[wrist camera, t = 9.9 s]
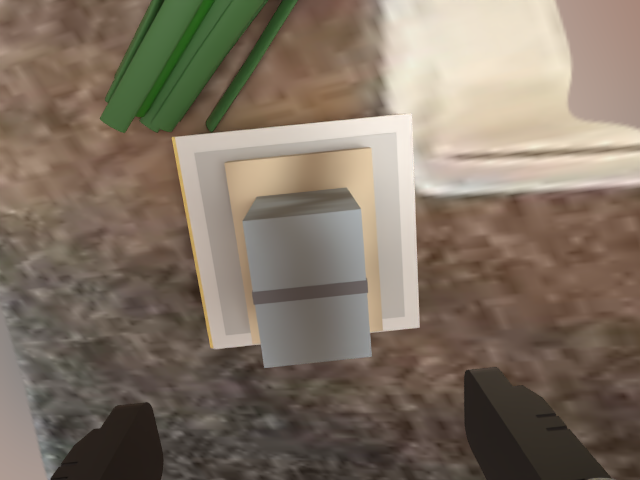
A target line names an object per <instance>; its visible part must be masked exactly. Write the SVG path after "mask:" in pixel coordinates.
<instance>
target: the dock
mask: <svg viewBox="0 0 640 480" xmlns="http://www.w3.org/2000/svg"><path fill="white" fill-rule="evenodd" d="M172 142H173V148H174V153H175V159H176V164H177V169H178V175H179V180H180V186H181V191H182V196H183V202H184V207H185V213H186V218H187V223H188V229H189V234H190V240H191V245H192V250H193V256H194V261H195V267H196V272H197V277H198V283H199V288H200V294H201V299H202V304H203V310H204V315H205V320H206V326H207V331H208V337H209V342H210V347H211V348H214V349H221V348H230V347H240V346H249V345H253V344H252V337H251V331H250V324H249V318H248V312H247V305H246V299H245V292H244V286H243V280H242V273H241V267H240V260H239V254H238V248H237V241H236V235H235V228H234V222H233V216H232V209H231V203H230V196H229V190H228V183H227V177H226V171H225V164H224V163H225V162H227V161H235V160H244V159H254V158H264V157H274V156H284V155H294V154H304V153H313V152H323V151H333V150H343V149H353V148H363V147H370V148H372V163H373V179H374V195H375V211H376V227H377V243H378V259H379V275H380V291H381V307H382V323H383V331H391V330H401V329H410V328H420V326H419V298H418V270H417V242H416V215H415V187H414V159H413V132H412V113H409V114H395V115H385V116H374V117H364V118H354V119H344V120H334V121H324V122H314V123H304V124H294V125H284V126H274V127H264V128H254V129H244V130H234V131H224V132H214V133H204V134H194V135H186V136H178V137H172ZM376 332H382V331H376ZM370 333H373V332H370ZM254 345H259V344H254Z"/></svg>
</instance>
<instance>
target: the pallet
mask: <svg viewBox="0 0 640 480" xmlns="http://www.w3.org/2000/svg"><path fill="white" fill-rule="evenodd" d="M224 164H225V171H226V177H227V183H228V190H229V196H230V203H231V209H232V216H233V222H234V228H235V235H236V241H237V248H238V254H239V260H240V267H241V273H242V280H243V286H244V292H245V299H246V305H247V312H248V318H249V324H250V331H251V337H252V344H253V345H254V344H261V349H262V356H263V362H264V368H269V367H279V366H288V365H297V364H307V363H316V362H325V361H335V360H344V359H353V358H363V357H372V354H371V340H370V332H376V331H383V323H382V307H381V291H380V275H379V259H378V243H377V227H376V211H375V195H374V179H373V163H372V148H370V147H363V148H353V149H343V150H333V151H323V152H313V153H304V154H294V155H284V156H274V157H264V158H254V159H244V160H235V161H227V162H225V163H224Z"/></svg>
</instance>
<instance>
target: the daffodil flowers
mask: <svg viewBox="0 0 640 480" xmlns="http://www.w3.org/2000/svg"><path fill="white" fill-rule="evenodd" d="M267 1H268V0H152V1H151V3H150V5H149V7H148V9H147V11H146V13H145V15H144V17H143V19H142V21H141V23H140V25H139V27H138V29H137V31H136V33H135V36H134V38H133V40H132V42H131V44H130V46H129V48H128V50H127V52H126V54H125V56H124V58H123V60H122V62H121V64H120V66H119V68H118V70H117V72H116V74H115V77H114V78H115V79H114V81H113V83H112V85H111V87H110V89H109V91H108V93H107V95H106V97H105V101H106V102H108V105H107V106H106V108H105V110H104V112H103V114H102V115H101V117H100V120H101V121H103V122H104V123H105V124H107V125H108V126H110V127H112V128H114V129H116V130H118V131H120V132H123V133H125V132H126V131H127V129H128V127H129V125H130V124H131V122H132V120H133V119H134V117H135V116H136V117H141V118H140V120H139V121H140V122H141V123H142V124H144V125H145V126H146V127H148V128H149V129H151V130H153V131H155V132H157V133H158V131H159V130H160V129H161V130H164V131H168V132H172V131H173V129H174V128H175V126H176V125H177V123H178V122H180V121H181V120H182V118H183V117H184V115H185V114H186V112H187V111H188V110H189V108H190V107H191V105H192V104H193V102H194V101H195V100H196V98H197V97H198V95H199V94H200V92H201V91H202V89H203V88H204V87H205V85H206V84H207V82H208V81H209V79H210V78H211V76H212V75H213V74H214V72H215V71H216V69H217V68H218V66H219V65H220V64H221V62H222V61H223V59H224V58H225V57H226V55H227V54H228V53H229V51H230V50H231V49H232V47H233V46H234V45H235V43H236V42H237V41H238V39H239V38H240V37H241V36H242V34H243V33H244V32H245V30H246V29H247V28H248V26H249V25H250V24H251V22H252V21H253V20H254V18H255V17H256V16H257V15H258V13H259V12H260V11H261V9H262V8H263V7H264V5H265V4H266V3H267ZM297 1H298V0H282V2H281V4H280V5H279V7H278V9H277V10H276V12H275V13H274V15H273V17H272V18H271V20H270V22H269V23H268V25H267V27H266V28H265V30H264V31H263V33H262V35H261V36H260V38H259V40H258V41H257V43H256V45H255V46H254V48H253V49H252V51H251V53H250V54H249V56H248V58H247V59H246V61H245V63H244V64H243V66H242V67H241V69H240V70H239V72H238V73H237V75H236V76H235V78H234V79H233V81H232V82H231V84H230V86H229V87H228V89H227V90H226V92H225V93H224V95H223V96H222V98H221V99H220V101H219V102H218V104H217V106H216V107H215V109H214V110H213V112H212V113H211V115H210V116H209V118H208V119H207V121H206V125H207V128H208V129H209V131H210V132H211V133H212V132H213V131H214V129H215V128H216V126H217V125H218V123H219V122H220V120H221V119H222V117H223V116H224V114H225V113H226V111H227V110H228V108H229V107H230V105H231V104H232V102H233V101H234V99H235V98H236V96H237V95H238V93H239V92H240V90H241V89H242V88H243V86H244V85H245V83H246V82H247V80H248V79H249V77H250V76H251V74H252V73H253V71H254V69H255V68H256V66H257V65H258V63H259V61H260V60H261V58H262V57H263V55H264V54H265V52H266V50H267V49H268V47H269V46H270V44H271V42H272V41H273V39H274V38H275V36H276V34H277V33H278V31H279V30H280V28H281V26H282V25H283V23H284V22H285V20H286V19H287V17H288V15H289V14H290V12H291V11H292V9H293V7H294V6H295V4H296V3H297Z"/></svg>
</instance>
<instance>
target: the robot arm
mask: <svg viewBox="0 0 640 480" xmlns="http://www.w3.org/2000/svg"><path fill="white" fill-rule="evenodd" d="M464 410H465V430H466V435H467V439H468V442H469V445H470V447H471V450H472V452H473V454H474V456H475V458H476V460H477V462H478V463H479V465H480V467H481V469H482V471H483V473H484V475H485V477H486V479H487V480H615V479H612V478H611V477H610V476H609V475H608V473H607V472H606V471H605V470H604V469H603V468H602V467H601V465H600V464H599V463H598V462H597V461H596V460H595V458H594V457H593V456H592V455H591V454H590V453H589V451H588V450H587V449H586V448H585V447H584V446H583V444H582V443H581V442H580V441H579V440H578V439H577V437H576V436H575V435H574V434H573V433H572V432H571V430H570V429H567V426H566V425H565V423H564V422H563V421H562V420H561V419H560V418H559V416H556V414H555V412H554V411H553V409H552V408H551V407H550V406H549V405H548V404H547V403H546V401H545V400H544V399H543V398H542V397H541V396H539V395H537V394H536V393H534V392H533V391H531V390H529V389H528V388H526V387H524V386H523V385H522V386H512V385H511V384H510V382H509V381H508V380H507V378H506V377H505V376H504V375H503V373H502V372H501V371H500V370H499V369H498V368H497V367H492V368H482V369H472V370H466V372H465V376H464ZM61 464H62V465H61V467H58V469H57V470H56V472H55V473H54V474H53V476H52V477H51V480H161V476H162V472H163V452H162V447H161V443H160V439H159V434H158V430H157V426H156V422H155V417H154V413H153V409H152V407H151V405H150V404H149V403H148V402H146V403H136V404H126V405H118V406H116V407H115V408H114V409H113V410H112V412H111V413H110V415H109V416H108V418H107V419H106V421H105V422H104V424H103V425H102V427H101V428H99V429H93V430H92V431H91V432H90V433H88V434H87V435H86V436H85V437H84V438H82V439H81V440H80V441H79V442H78V443H76V444H75V445H74V446H73V448H72V449H71V451H70V452H69V453H68V455H67V456H66V458H65V459H64V460H63V462H62V463H61Z"/></svg>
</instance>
